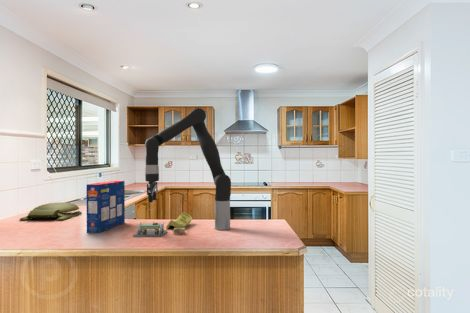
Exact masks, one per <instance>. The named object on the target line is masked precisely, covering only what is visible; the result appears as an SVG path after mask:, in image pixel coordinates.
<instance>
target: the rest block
mask: <svg viewBox="0 0 470 313" xmlns="http://www.w3.org/2000/svg"><path fill="white" fill-rule="evenodd" d="M172 233H173V234H172V235H176V236H177V235H185V233H186V227H185V228H176V227H174V228H173V231H172Z"/></svg>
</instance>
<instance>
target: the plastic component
mask: <svg viewBox="0 0 470 313" xmlns="http://www.w3.org/2000/svg"><path fill="white" fill-rule="evenodd" d="M192 220H193V217H192V216H191V215H190V214H188V213H187V212H185V211H182V212H181V213H180V214H179V215H178V216H177V218H176V219H175V220H173V219H171V220H169V222H168V223H167V225H166V227H165V230H168V229H170V228H171V227H174V228H185V229H186V228H187V226H189V225H190V223H191V222H192Z"/></svg>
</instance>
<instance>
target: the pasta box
mask: <svg viewBox="0 0 470 313" xmlns="http://www.w3.org/2000/svg"><path fill="white" fill-rule="evenodd" d="M125 191H126V189H125V180H109V181H104V182H96V183H89V184H88V183H87V184H86V233H88V234H89V233H91V234H100V233H101V234H102V233H103V232H105V231H108V230H111V229H113V228H116V227H118V226H120V225H123V224H124V225H125V223H126V221H125V217H126V215H125V214H126V213H125V212H126V211H125V199H126V198H125V197H126V195H125V193H126V192H125Z"/></svg>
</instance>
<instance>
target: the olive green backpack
mask: <svg viewBox="0 0 470 313" xmlns="http://www.w3.org/2000/svg"><path fill="white" fill-rule="evenodd" d="M79 209H80V207H79V205H76V204H75V203H70V202H50V203H45V204H41V205H38V206H36V207H34V208H33V209H32V210H30V211H29V213H28V214H27V215H26V216H23V217H20V218H19V221H20V222H26V221H29V220H33V219H37V218H41V219H43V218H44V219H45V218H56V221H58V222H63V221H66V220H69V219H71V218H74V217H77V216H79V215H81V214H82V213H83V212H82V211H80V210H79ZM70 212H71V213H70ZM65 213H68V214H65ZM57 217H58V218H57Z"/></svg>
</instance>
